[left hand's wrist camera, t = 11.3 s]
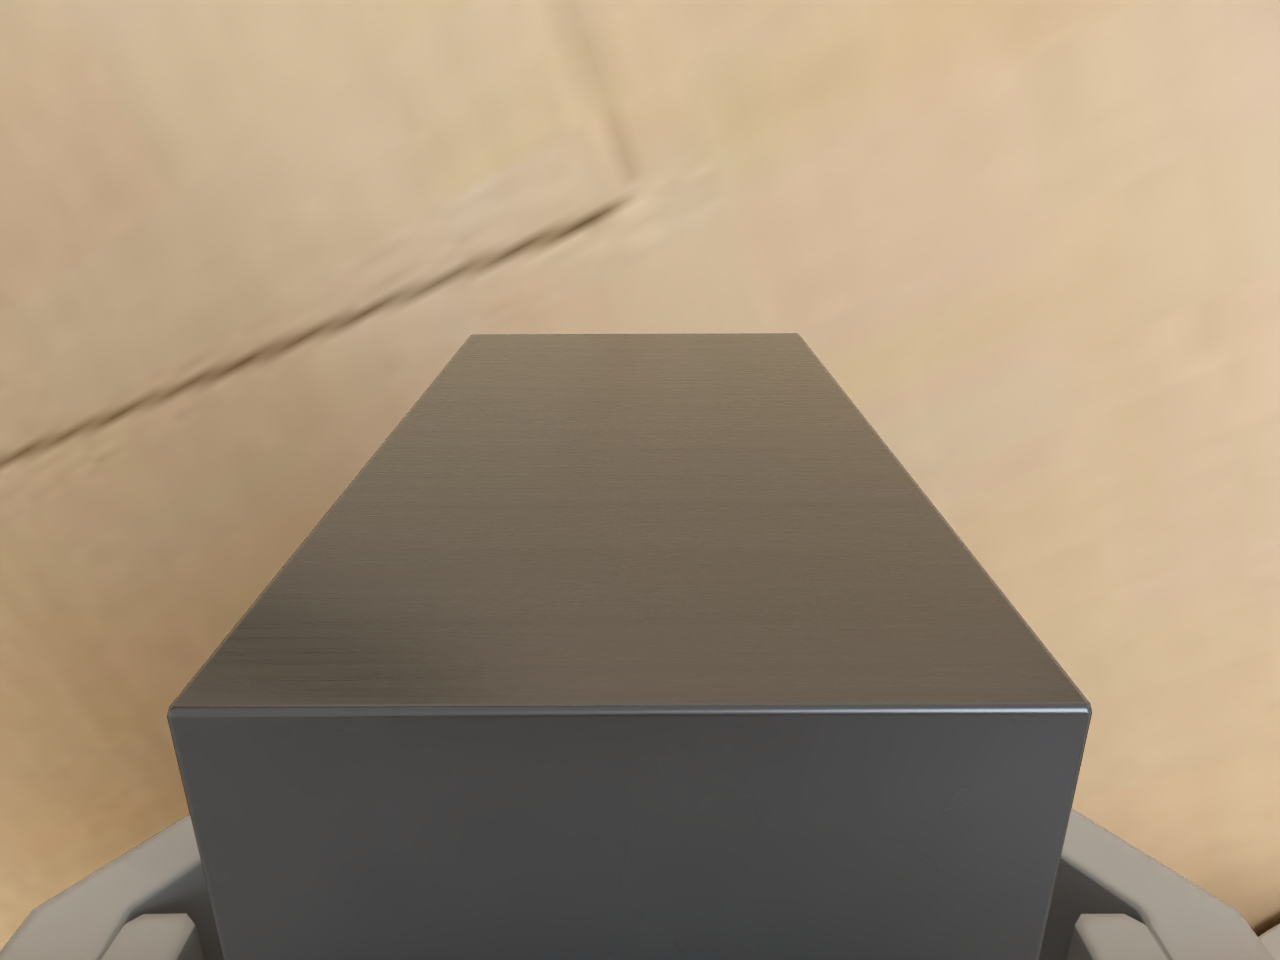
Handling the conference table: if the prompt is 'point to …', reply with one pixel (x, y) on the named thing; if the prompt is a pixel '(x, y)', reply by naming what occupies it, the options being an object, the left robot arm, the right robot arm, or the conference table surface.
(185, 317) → the conference table surface
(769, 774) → the bar
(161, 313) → the conference table surface
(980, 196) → the conference table surface
